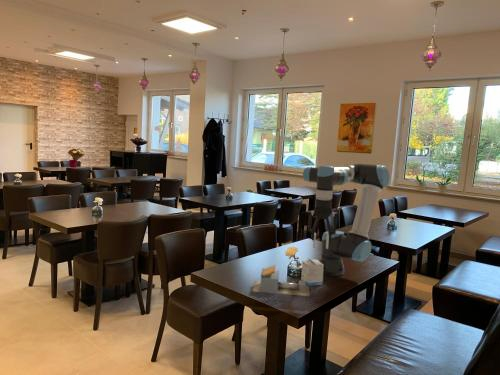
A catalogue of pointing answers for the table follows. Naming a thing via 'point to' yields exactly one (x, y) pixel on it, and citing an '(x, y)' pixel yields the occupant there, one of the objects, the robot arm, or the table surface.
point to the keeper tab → (268, 271)
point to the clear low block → (293, 286)
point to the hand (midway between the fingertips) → (320, 247)
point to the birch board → (281, 290)
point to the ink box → (312, 272)
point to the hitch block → (270, 283)
